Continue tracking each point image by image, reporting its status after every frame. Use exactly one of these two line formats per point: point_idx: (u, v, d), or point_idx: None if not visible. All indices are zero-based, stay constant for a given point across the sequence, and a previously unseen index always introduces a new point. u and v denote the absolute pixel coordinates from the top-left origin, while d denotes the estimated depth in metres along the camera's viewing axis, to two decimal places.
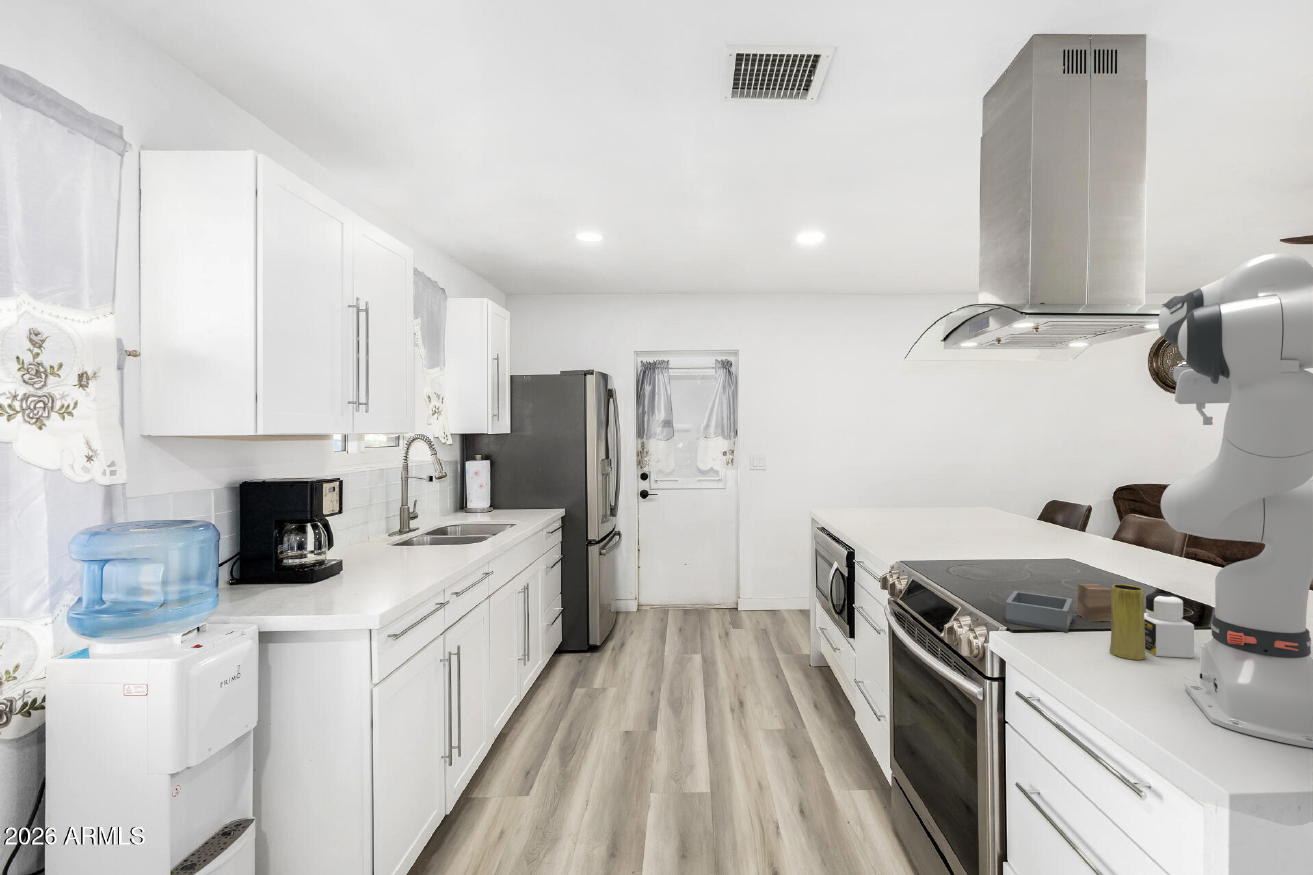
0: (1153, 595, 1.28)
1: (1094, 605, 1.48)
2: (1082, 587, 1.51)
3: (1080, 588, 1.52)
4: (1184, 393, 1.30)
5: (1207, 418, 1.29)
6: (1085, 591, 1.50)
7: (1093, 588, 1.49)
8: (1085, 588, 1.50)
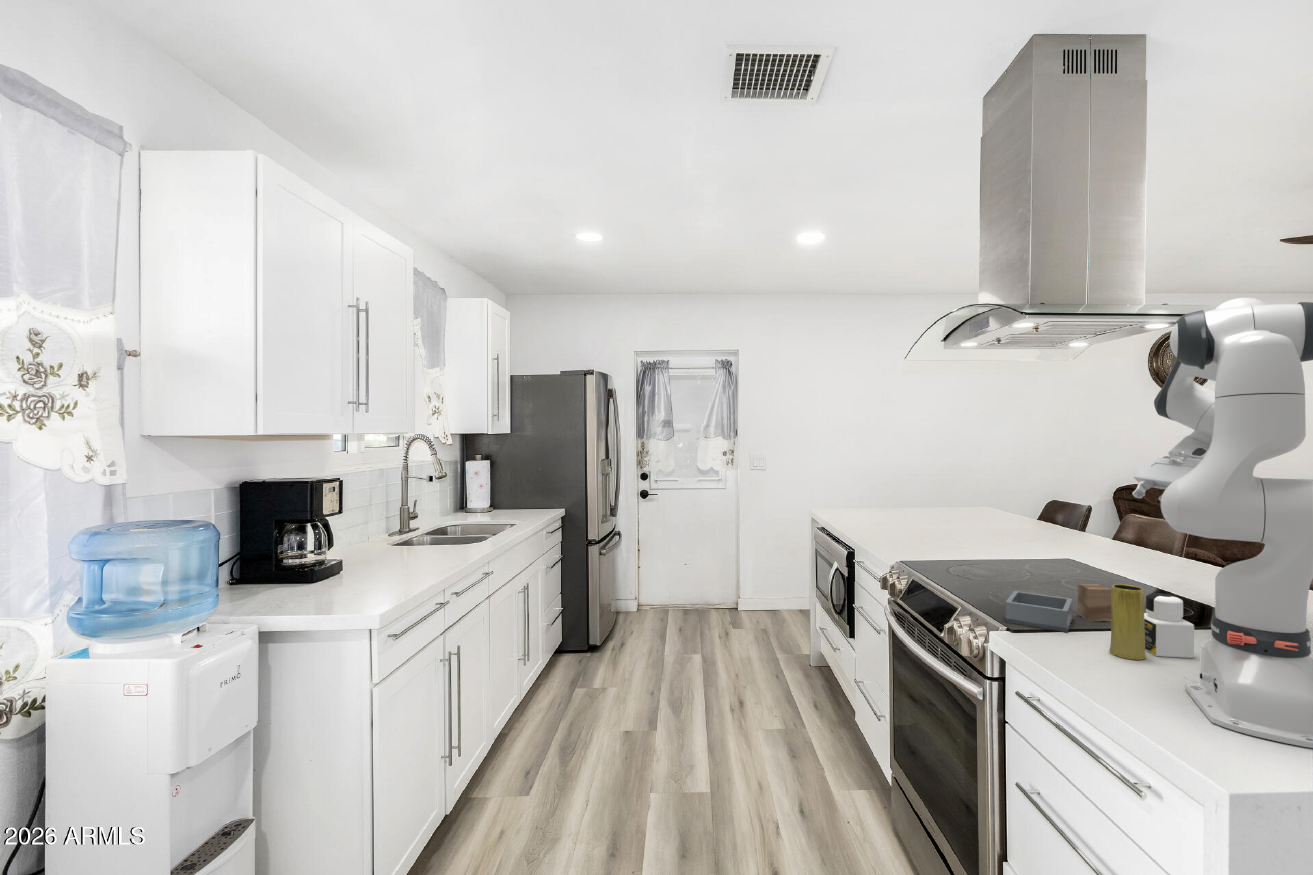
0: (1153, 595, 1.28)
1: (1094, 605, 1.48)
2: (1082, 587, 1.51)
3: (1080, 588, 1.52)
4: (1140, 470, 1.56)
5: (1137, 490, 1.53)
6: (1085, 591, 1.50)
7: (1093, 588, 1.49)
8: (1085, 588, 1.50)
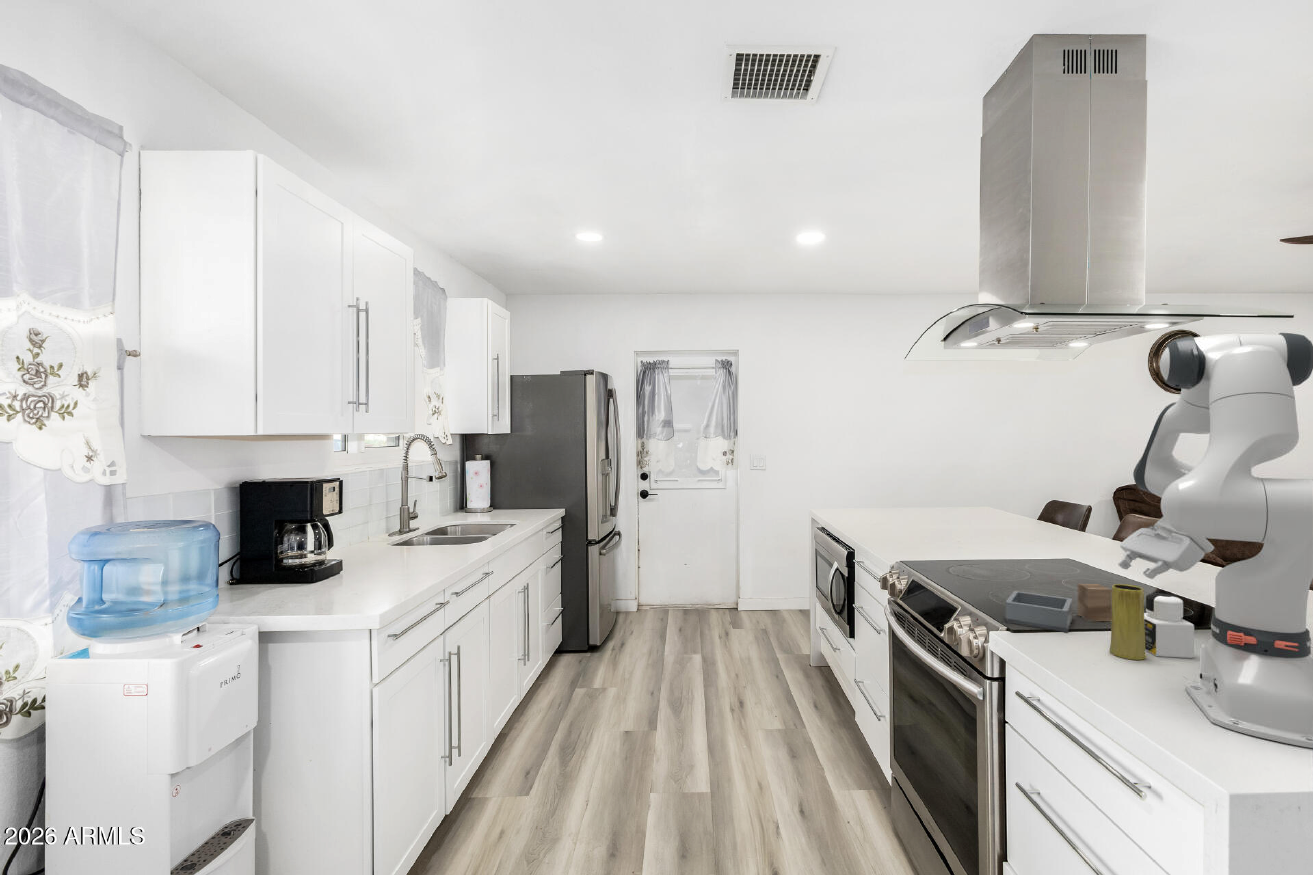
0: (1153, 595, 1.28)
1: (1094, 605, 1.48)
2: (1082, 587, 1.51)
3: (1080, 588, 1.52)
4: (1127, 540, 1.57)
5: (1123, 561, 1.54)
6: (1085, 591, 1.50)
7: (1093, 588, 1.49)
8: (1085, 588, 1.50)
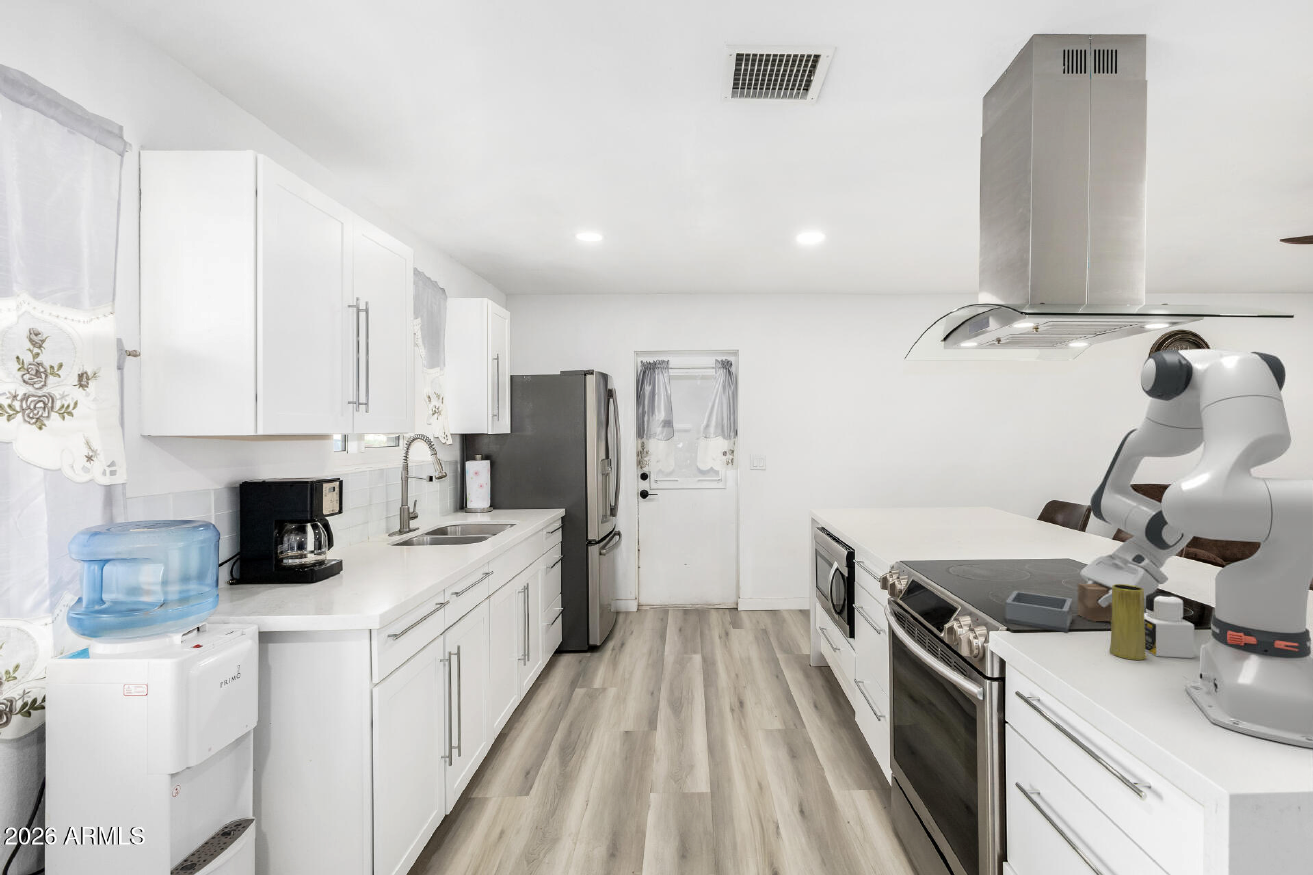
0: (1153, 595, 1.28)
1: (1094, 605, 1.48)
2: (1082, 587, 1.51)
3: (1080, 588, 1.52)
4: (1086, 568, 1.58)
5: None
6: (1085, 591, 1.50)
7: (1093, 588, 1.49)
8: (1085, 588, 1.50)
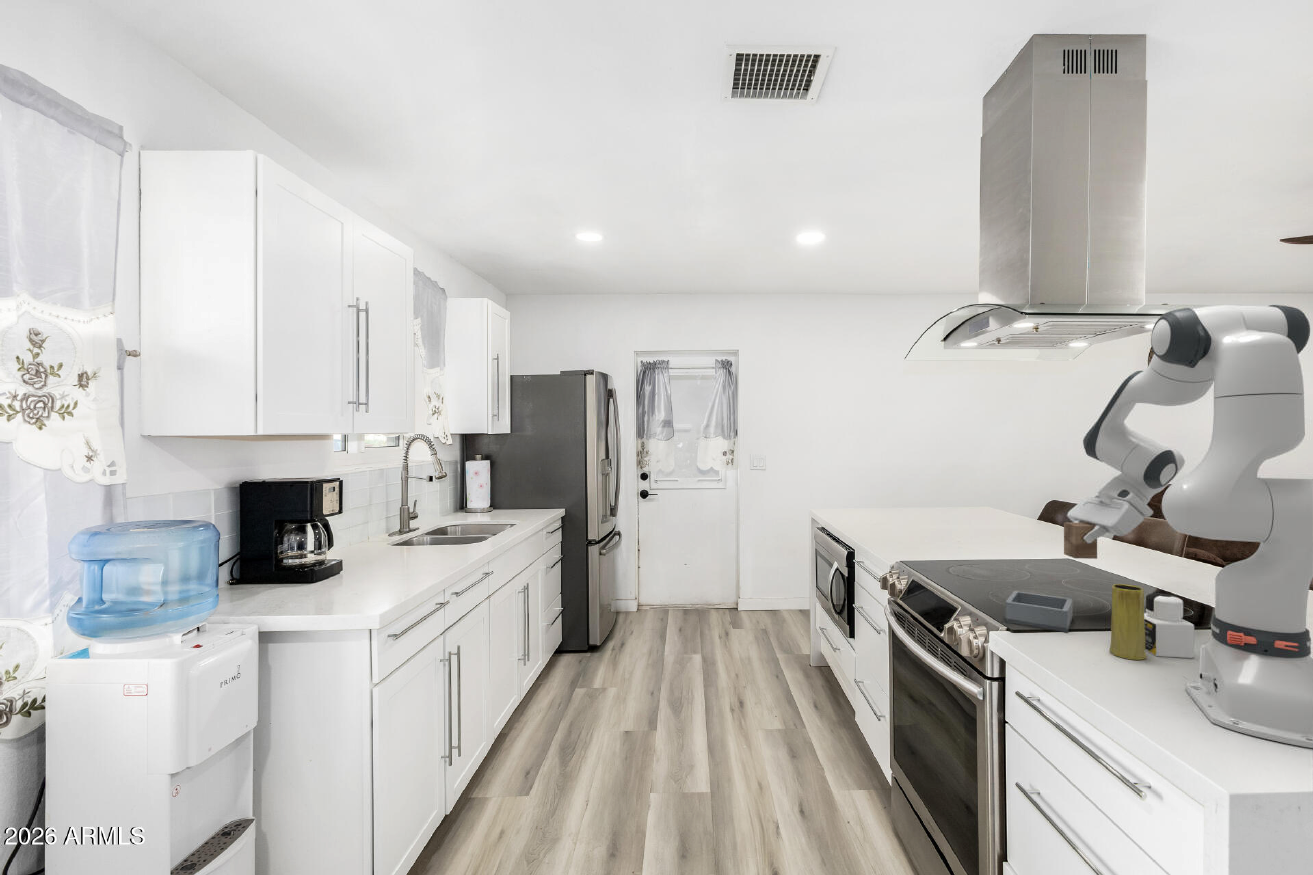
0: (1153, 595, 1.28)
1: (1080, 542, 1.47)
2: (1068, 525, 1.50)
3: (1066, 526, 1.51)
4: (1073, 509, 1.58)
5: None
6: (1070, 529, 1.49)
7: (1079, 525, 1.48)
8: (1070, 525, 1.49)
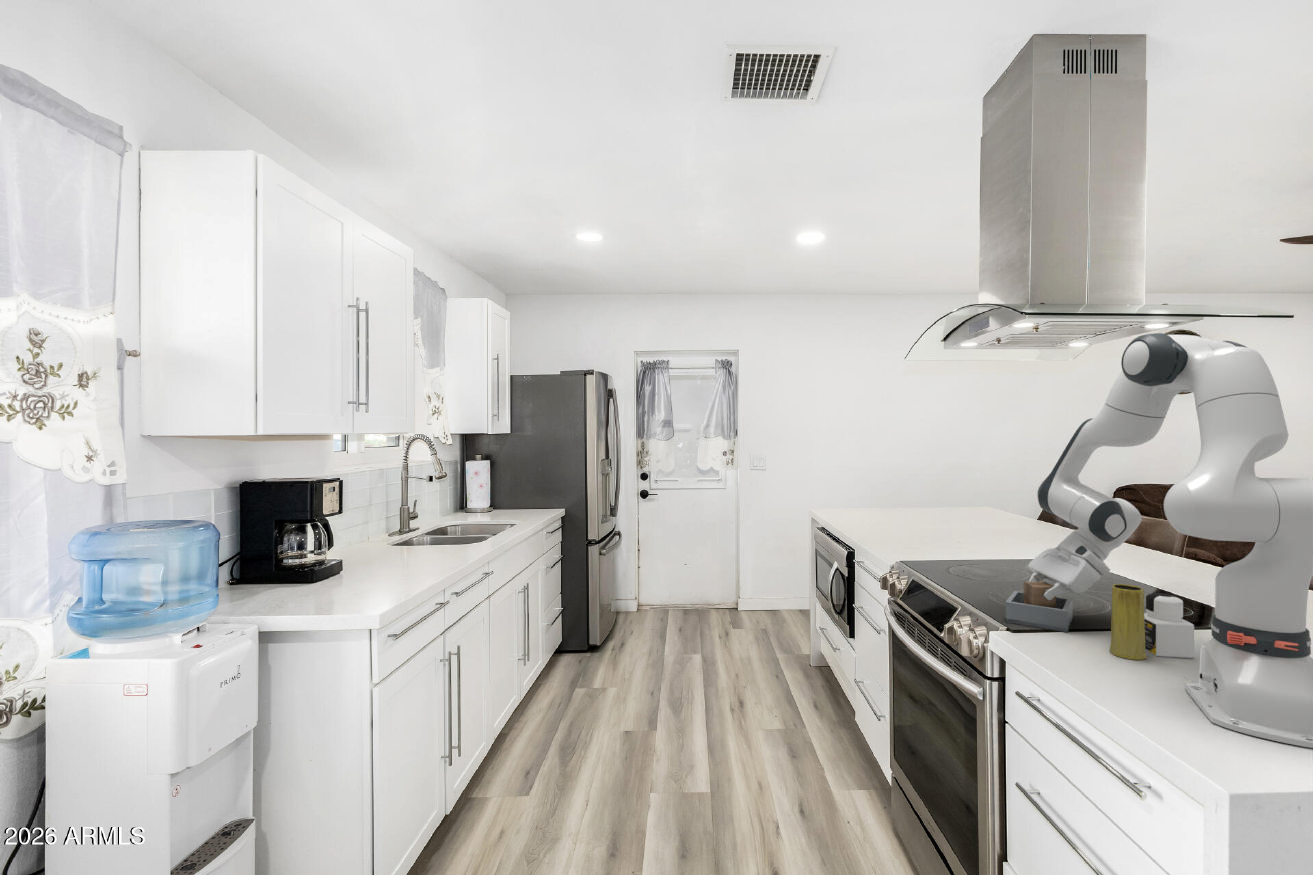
0: (1153, 595, 1.28)
1: (1038, 603, 1.47)
2: (1027, 585, 1.50)
3: (1025, 586, 1.51)
4: (1034, 560, 1.57)
5: None
6: (1029, 589, 1.49)
7: (1037, 586, 1.47)
8: (1029, 586, 1.49)
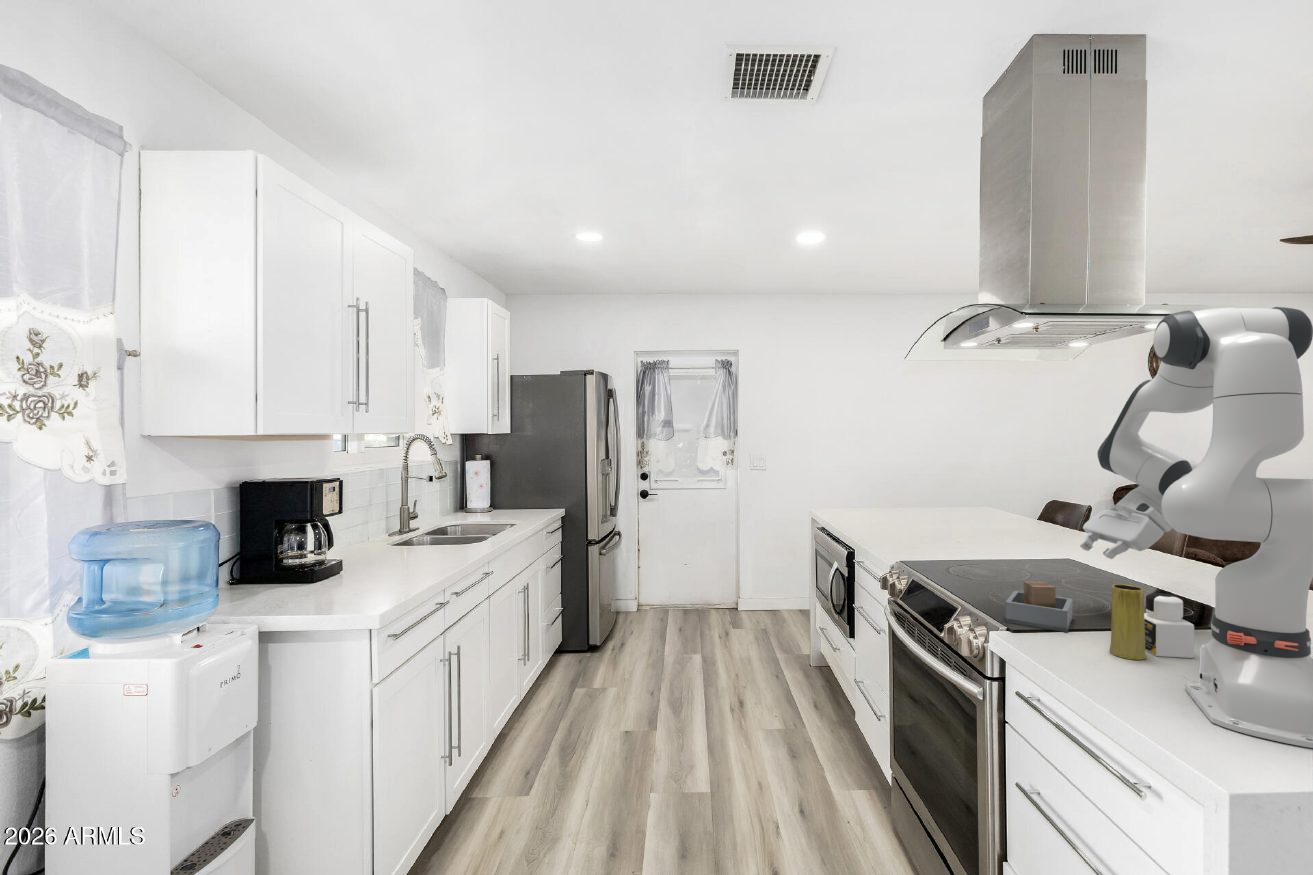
0: (1153, 595, 1.28)
1: (1038, 603, 1.47)
2: (1027, 585, 1.50)
3: (1025, 586, 1.51)
4: (1089, 521, 1.55)
5: (1084, 542, 1.52)
6: (1029, 589, 1.49)
7: (1037, 586, 1.47)
8: (1029, 586, 1.49)
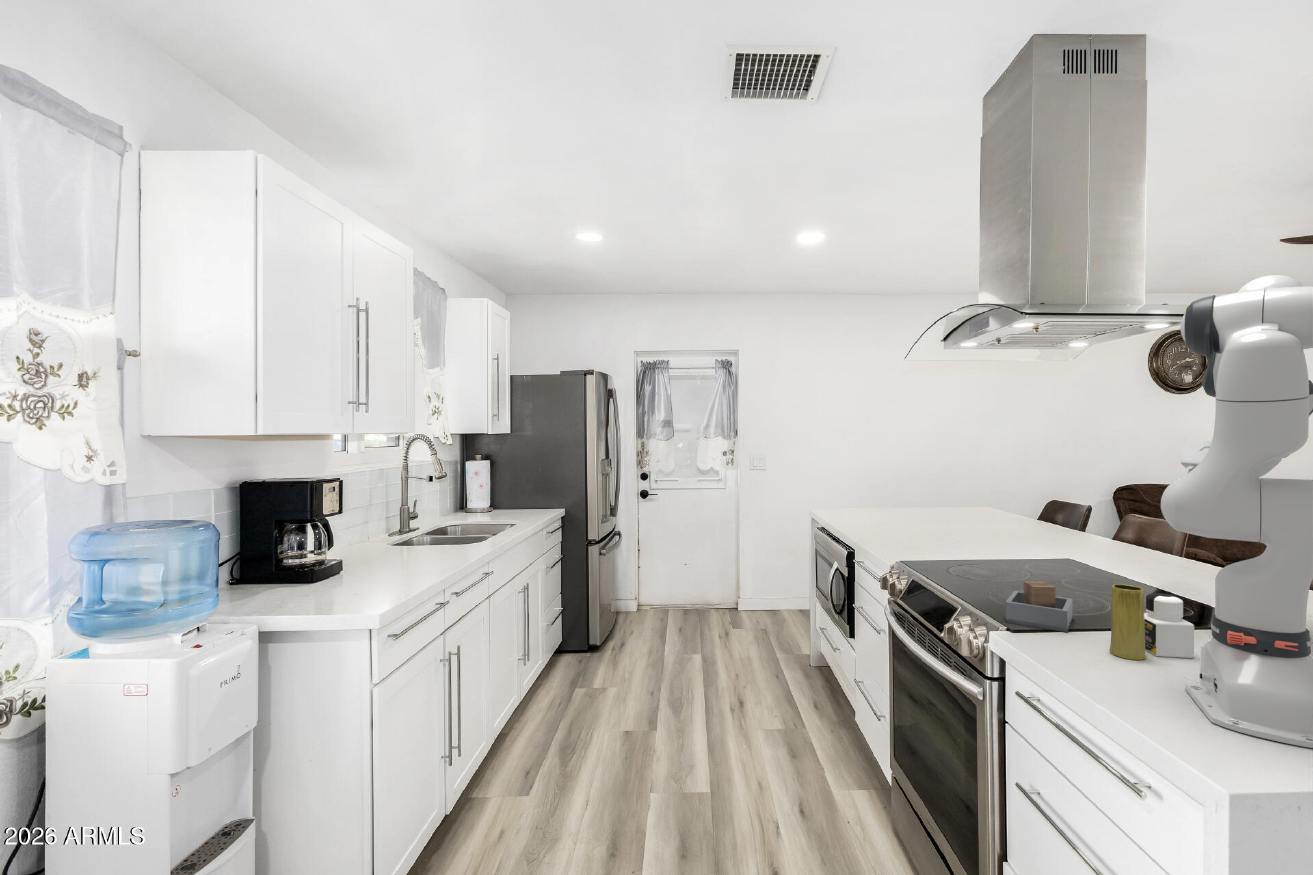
0: (1153, 595, 1.28)
1: (1038, 603, 1.47)
2: (1027, 585, 1.50)
3: (1025, 586, 1.51)
4: (1188, 455, 1.45)
5: None
6: (1029, 589, 1.49)
7: (1037, 586, 1.47)
8: (1029, 586, 1.49)
